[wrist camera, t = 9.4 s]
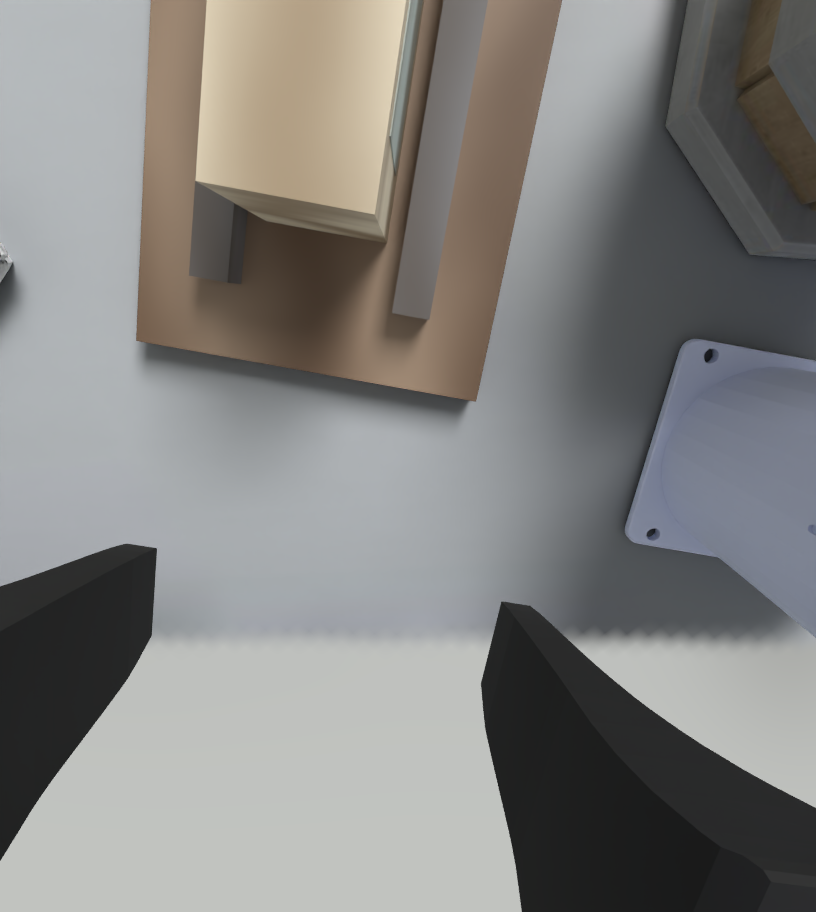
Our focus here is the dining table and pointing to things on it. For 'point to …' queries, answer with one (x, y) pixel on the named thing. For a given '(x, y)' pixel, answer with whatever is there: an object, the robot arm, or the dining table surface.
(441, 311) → the walnut ledge
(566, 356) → the dining table surface
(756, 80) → the tankard
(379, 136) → the pale wooden bar
